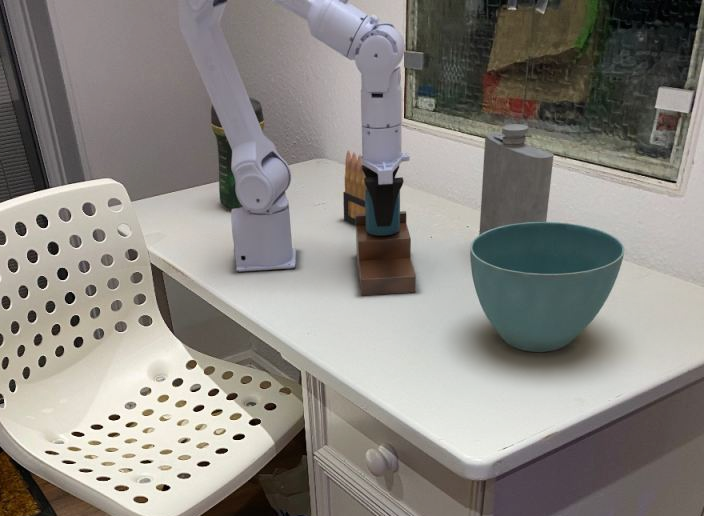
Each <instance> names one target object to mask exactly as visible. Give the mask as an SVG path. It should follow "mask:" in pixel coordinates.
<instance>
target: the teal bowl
mask: <svg viewBox="0 0 704 516" xmlns="http://www.w3.org/2000/svg"><path fill="white" fill-rule="evenodd" d="M624 255H625V246H624V244H623V242H622V241H620V240H619V238H617V236H614V235H612V234H611V233H609V232H606V231H604V230H601V229H597V228H595V227H590V226H586V225H582V224H575V223H570V222H560V221H558V222H557V221H546V222H527V223H518V224H511V225H505V226H501V227H497V228H494V229H491V230H488V231H486V232H484V233H482V234H480V235H477V236H475V238H474V239H473V240H472V241H471V243H470V249H469V257H470V259H469V260H470V268H471V269H470V270H471V275H472V280H473V286H474V290H475V293H476V295H477V296H476V297H477V299H478V301H479V304H480V306H481V309H482V310H483V313H484V315H485V316H486V318H487V320H488V321H489V323H490V325H491V326H492V328H493V329H494V330H495V331H496V333H497V334H498V335H499V336H500V338H501V339H503V341H504V342H505V343H507V344H508V345H509V346H510V347H512V348H514V349H517V350H520V351H525V352H531V353H533V352H535V353H545V352H546V353H547V352H552V351H556V350H559V349H562V348H563V347H566V345H567V346H568V344H570V343H571V342H572V341H573V340H574V339H575V338H577V337H578V336H579V335H580V334H581V333H582V332H583V331H584V330H585V329H586V328H588V326H589V325H590V324H591V323H592V322H593V320H594V319H595V318H596V317H597V315H598V314H599V312H600V311H601V310H602V308H603V306H604V305H605V303H606V301H607V300H608V298H609V296H610V294H611V292H612V290H613V288H614V285H615V283H616V281H617V278H618V277H619V274H620V273H619V272H620V270H621V267H622V263H623V260H624V259H623V258H624Z"/></svg>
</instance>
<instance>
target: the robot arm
mask: <svg viewBox="0 0 704 516" xmlns="http://www.w3.org/2000/svg"><path fill="white" fill-rule="evenodd" d="M271 1H272V2H273V3H276V4H277V5H279V6H281V7H283V8H284V9H286V10H288V11H289V12H291V13H293V14H295V15H296V16H298V17H300V18H301V19H304V20H305V21H306V23H307V25H308V29H309V32H310V35H311V36H312V37H313V38H315V39H316V40H318V41H319V42H321V43H323V44H324V45H326V46H327V47H329V48H331V49H332V50H334V51H335V52H337V53H339V54H340V55H342V56H344V57H345V58H347V59H348V60H350V61H354V64H355V65H356V66H355V67H356V68H357V70H358V71H359V73H360V80H361V82H360V83H361V84H360V85H361V87H360V88H361V89H360V111H361V112H360V113H361V114H360V117H361V120H360V121H361V151H362V152H361V153H362V154H361V163H362V164H363V165H362V170H363V172H364V174H365V176H366V178H364V182H365V185H366V187H367V189H368V191H369V193H370V196H371V199H372V203H373V208H374V214H375V220H376V224H377V227H383V226H391V224H392V220H393V214H394V208H395V203H396V199H397V196H398V193H399V191H400V192H401V189H402V187H403V184H404V177H396V176H397V173H398V172H399V169H400V165H401V164H402V163H403V162H409V161H411V160H410V157H411V156H410V154H409V153H408V152H402V122H403V121H402V119H403V118H402V117H403V115H402V113H403V112H402V109H403V108H402V98H403V96H402V95H403V94H402V93H403V92H402V91H403V90H402V89H403V88H402V84H401V83H402V74H401V68H402V67H401V66H399V65H400V64H401V62H402V60H403V59H404V54H405V51H406V50H405V47H406V46H405V39H404V36H403V35H402V33H401V32H400V31H399V30H398V29H397V28H396V27H395V26H394V25H393V23H390V22H381V23H380V22H379V21H380V17H379V16H377V15H375V13H374V14H372V15H371V16H370V15H368V14H367V13H365V12H364V11H362V10H361V9H359V8H358V7H356V6H354V5H352V4H351V3H350V2H349V0H271ZM227 3H228V0H178V24H179V28H180V31H181V34H182V36H183V38H184V41H185V43H186V45H187V47H188V50H189V52H190V54H191V57H192V59H193V62H194V64H195V66H196V68H197V71H198V74H199V76H200V78H201V81H202V83H203V85H204V87H205V90H206V92H207V95H208V97H209V99H210V102H211V105H212V104H213V106H214V109H215V111H216V113H217V116H218V118H219V121H220V123H221V125H222V128H223V130H224V132H225V135H226V137H227V139H228V142H229V144H230V146H231V149H232V164H231V169H232V172H233V174H234V177H235V182H236V188H235V190H236V195H237V198H238V200H239V202H240V203H241V204H242V206H243V207H241V208H234V209H231V212H230V220H231V235H232V242H233V255H234V257H235V265H236V272H255V271H269V270H285V269H294V268H295V269H296V261H297V258H296V257H297V249H296V247H293V239H292V227H291V215H290V214H291V213H290V202H289V199H288V197H287V195H286V193H287V192H286V191H287V190H288V189H289V187H290V185H291V181H292V172H291V169H290V166H289V164H288V162H287V161H286V160H285V159H284V158H283V157H282V156H281V155H280V154H279V153H278V151H277V149H276V146H275V144H274V143H273V142H272V141H271V140H270V139H269V138H268V137H267V136H266V135H265V134H264V132H262V129H261V127H260V124H259V122H258V119H257V117H256V114H255V112H254V109H253V107H252V104H251V102H250V99H249V98H250V97H249V94H248V93H247V89H246V86H245V84H244V82H243V79H242V77H241V74H240V72H239V70H238V67H237V64H236V61H235V60H234V57H233V55H232V53H231V50H230V47H229V45H228V42H227V40H226V37H225V34H224V32H223V29H222V27H221V20H222V17H223V14H224V12H225V8H226V6H227ZM378 22H379V23H378Z"/></svg>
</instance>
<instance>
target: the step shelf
mask: <svg viewBox="0 0 704 516" xmlns="http://www.w3.org/2000/svg"><path fill="white" fill-rule="evenodd" d="M355 219H356V226H355V246H356V247H355V248H356V262H357V271H358V279H359V287H360V293H361V294H360V295H361V296H377V295H379V296H380V295H393V294H408V293H411V294H413V293H416V286H417V285H416V281H417V280H416V278H417V277H416V273H415V269H414V265H413V262H412V261H413V260H412V258H411V255H412V254H411V253H412V252H411V251H412V250H411V249H412V247H411V246H412V239H411V234H410V231H409V228H408V224H407V211H406V210H404V211H403V210H402V211H401V210H400V230H399V231H398V232H397V233H395V234H391V235H385V236H377V235H372V234H369V233H367V232H366V214H355Z"/></svg>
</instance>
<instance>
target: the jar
mask: <svg viewBox="0 0 704 516" xmlns="http://www.w3.org/2000/svg"><path fill="white" fill-rule="evenodd" d="M365 211H366V232H367V233H369V234H372V235H377V236H385V235H391V234H395V233H397V232H398V231H399V230H400V212H401V190H400V191H399V193H398V196H397V199H396V203H395V208H394V214H393V220H392V224H391V226H383V227H377V224H376V220H375V214H374V208H373V203H372V199H371V196H370V193H369V191H368V189H366V190H365Z"/></svg>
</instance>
